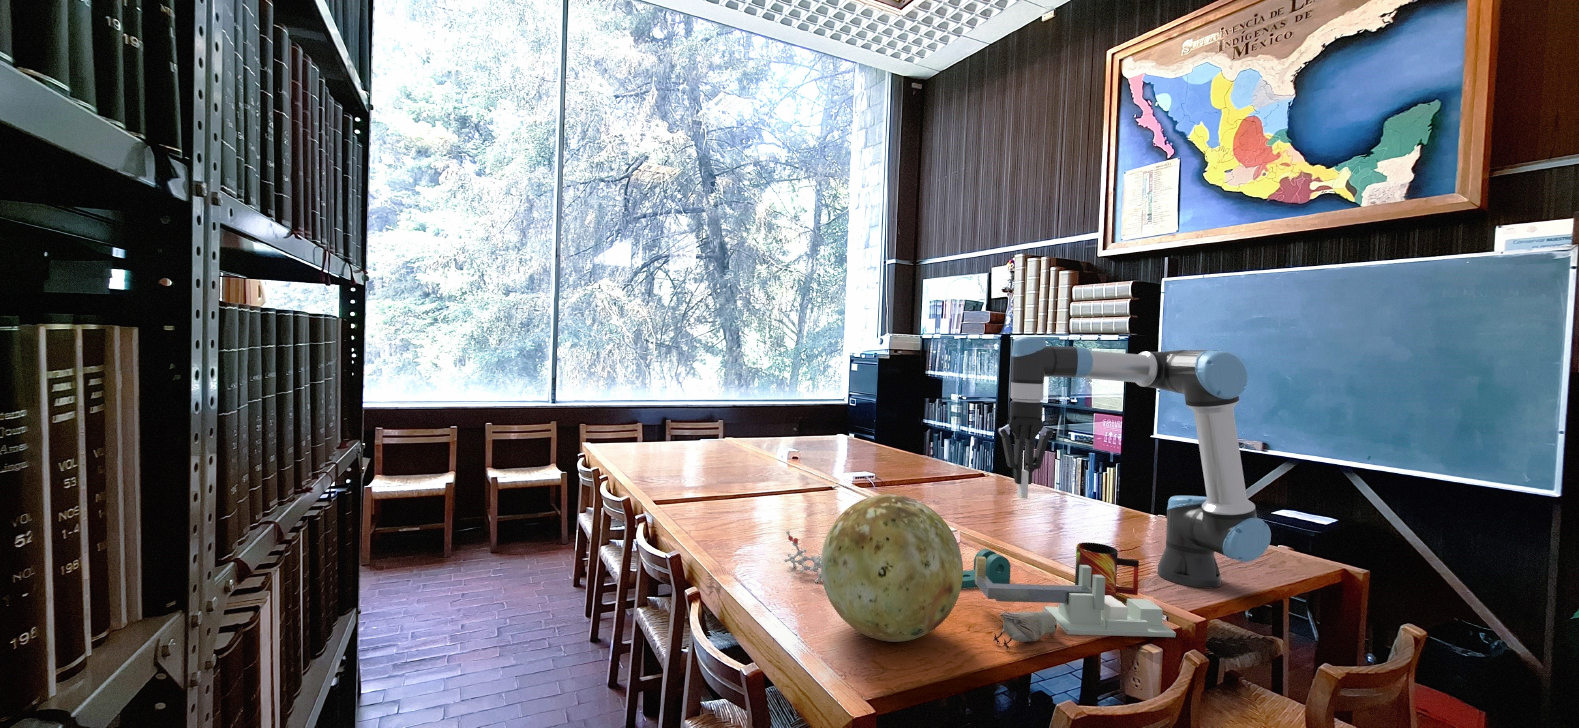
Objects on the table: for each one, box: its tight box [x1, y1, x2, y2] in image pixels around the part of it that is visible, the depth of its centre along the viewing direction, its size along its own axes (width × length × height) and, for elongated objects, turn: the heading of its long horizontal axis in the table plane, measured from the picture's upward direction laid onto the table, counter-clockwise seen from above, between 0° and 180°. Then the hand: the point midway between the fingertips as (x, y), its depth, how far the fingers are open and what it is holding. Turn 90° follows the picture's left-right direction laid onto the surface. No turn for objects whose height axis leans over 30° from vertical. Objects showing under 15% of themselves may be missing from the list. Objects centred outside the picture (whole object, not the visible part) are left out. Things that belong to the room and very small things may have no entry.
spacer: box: [1101, 595, 1128, 621], centre depth 152 cm, size 4×7×4 cm
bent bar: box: [975, 555, 1091, 604], centre depth 154 cm, size 24×10×7 cm, turn 91°
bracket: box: [961, 548, 1011, 589], centre depth 175 cm, size 18×7×8 cm, turn 108°
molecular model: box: [784, 530, 822, 583], centre depth 177 cm, size 19×10×10 cm, turn 26°
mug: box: [1074, 542, 1140, 600], centre depth 170 cm, size 10×14×12 cm
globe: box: [820, 494, 964, 643], centre depth 141 cm, size 30×30×30 cm
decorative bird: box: [993, 610, 1058, 651], centre depth 140 cm, size 5×16×8 cm, turn 115°
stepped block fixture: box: [1043, 565, 1177, 638], centre depth 151 cm, size 24×13×12 cm, turn 91°
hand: (1022, 497), depth 160 cm, fingers closed
